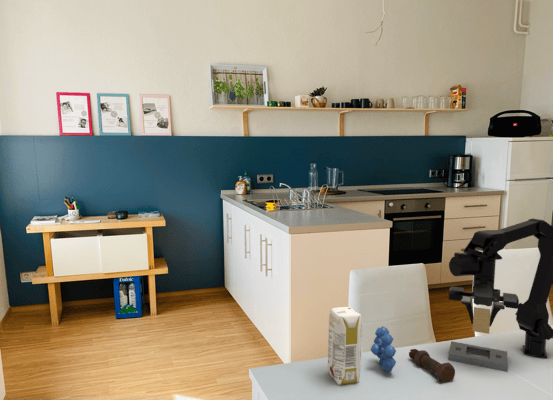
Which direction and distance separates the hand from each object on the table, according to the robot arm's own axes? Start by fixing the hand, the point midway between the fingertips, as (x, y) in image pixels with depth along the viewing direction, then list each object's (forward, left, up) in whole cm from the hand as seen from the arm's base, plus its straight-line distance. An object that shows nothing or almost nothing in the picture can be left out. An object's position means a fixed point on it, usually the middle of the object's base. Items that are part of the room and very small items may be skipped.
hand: (481, 324), depth 134 cm
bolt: (+14, -13, -11) cm, 22 cm away
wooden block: (0, 0, -2) cm, 2 cm away
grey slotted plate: (0, 0, -11) cm, 11 cm away
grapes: (+20, -25, -11) cm, 34 cm away
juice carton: (+30, -33, -11) cm, 46 cm away
